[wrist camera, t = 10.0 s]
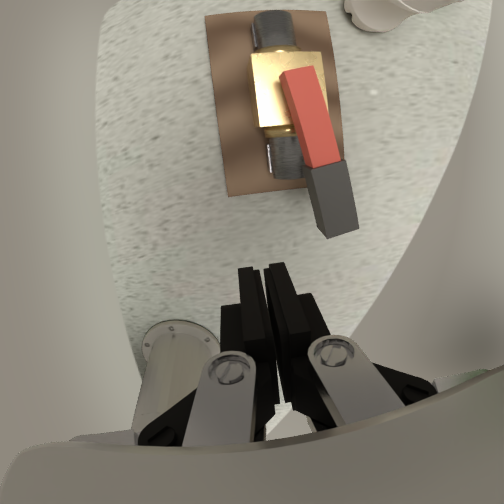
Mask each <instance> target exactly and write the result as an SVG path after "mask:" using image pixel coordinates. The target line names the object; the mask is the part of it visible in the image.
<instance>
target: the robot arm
mask: <svg viewBox="0 0 504 504" xmlns="http://www.w3.org/2000/svg"><path fill="white" fill-rule="evenodd" d="M238 276H239V289H240V302H241V303H239V304H232V305H224V306H221V325H220V344H219V342H218V341H217V339H216V338H215V337H214V336H213V334H211V333H210V332H209V331H208V330H206V329H204V328H203V327H201V326H199V325H196V324H194V323H190V322H186V321H177V320H176V321H166V322H162V323H159V324H157V325H155V326H154V327H152V328H151V329H150V330H149V331H148V332H147V333H146V335H145V337H144V340H143V343H142V352H143V356H144V358H145V360H146V362H147V366H146V370H145V373H144V377H143V381H142V385H141V389H140V393H139V397H138V401H137V405H136V409H135V414H134V419H133V423H132V427H131V430H124V431H117V432H109V433H101V434H90V435H80V436H76V437H74V438H72V439H71V440H69V441H67V442H51V443H46V444H40V445H36V446H32V447H29V448H27V449H25V450H23V451H21V452H20V453H18V455H17V456H16V457H15V458H14V459H13V461H12V462H11V464H10V466H9V468H8V469H7V472H6V474H5V476H4V478H3V481H2V484H1V486H0V504H504V365H502V366H499V367H496V368H494V369H491V370H487V369H481V370H480V369H479V370H476V371H471V372H467V373H462V374H458V375H452V376H447V377H442V378H436V379H434V380H433V382H432V383H430V382H428V381H426V380H424V379H422V378H419V377H415V376H412V375H409V374H406V373H403V372H399V371H396V370H393V369H390V368H387V367H384V366H381V365H378V364H375V363H372V362H371V361H370V360H369V359H368V357H367V356H366V355H365V354H364V352H363V351H362V350H361V348H360V347H359V346H358V345H357V343H355V342H354V341H353V340H352V339H350V338H348V337H345V336H341V335H331V334H330V332H329V330H328V328H327V325H326V323H325V321H324V319H323V317H322V315H321V313H320V310H319V308H318V306H317V304H316V302H315V300H314V298H313V296H312V294H311V293H306V294H300V295H297V294H296V291H295V289H294V286H293V283H292V281H291V278H290V276H289V273H288V271H287V268H286V266H285V263H284V262H281V263H274V264H269V268H266V269H264V278H265V287H266V296H267V304H266V299H265V294H264V290H263V285H262V281H261V276H260V271H259V270H253V266H252V267H245V268H238ZM267 305H268V308H267ZM276 361H277V365H276ZM277 366H278V371H279V376H280V381H281V386H282V391H283V396H284V400H285V403H287V402H291V404H292V408H293V410H296V411H298V412H300V413H302V414H304V415H306V418H307V422H308V424H309V426H310V428H311V431H312V433H309V434H304V435H299V436H294V437H288V438H282V439H275V440H268V441H266V423H267V422H268V421H269V420H270V419H271V418H272V417H273V416H274V415H275V406H274V405H275V404H280V398H279V387H278V376H277Z"/></svg>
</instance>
